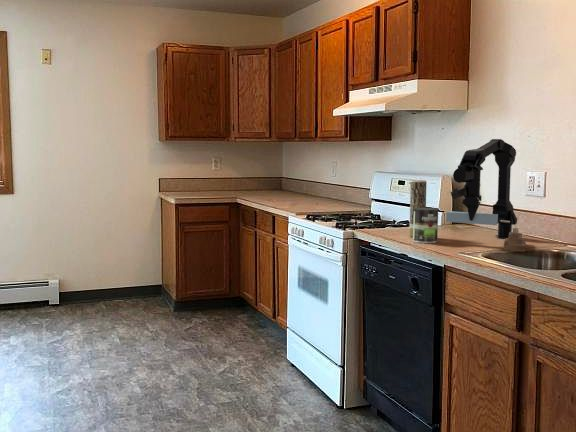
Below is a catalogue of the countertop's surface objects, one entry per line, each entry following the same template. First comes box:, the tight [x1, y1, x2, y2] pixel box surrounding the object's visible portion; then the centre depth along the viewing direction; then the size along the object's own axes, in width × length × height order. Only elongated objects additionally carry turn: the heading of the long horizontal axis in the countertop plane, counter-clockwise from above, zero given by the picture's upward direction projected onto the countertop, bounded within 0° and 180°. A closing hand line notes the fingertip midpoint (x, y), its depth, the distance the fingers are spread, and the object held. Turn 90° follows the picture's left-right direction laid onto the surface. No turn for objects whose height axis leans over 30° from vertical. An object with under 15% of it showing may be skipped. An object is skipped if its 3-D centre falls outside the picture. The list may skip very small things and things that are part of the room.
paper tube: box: [409, 179, 427, 238], centre depth 277 cm, size 7×7×25 cm
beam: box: [445, 210, 498, 226], centre depth 257 cm, size 4×20×4 cm, turn 57°
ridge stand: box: [503, 227, 527, 252], centre depth 252 cm, size 18×8×6 cm, turn 160°
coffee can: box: [412, 206, 440, 244], centre depth 266 cm, size 10×10×14 cm
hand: (471, 219), depth 257 cm, fingers closed on beam, 4 cm apart
